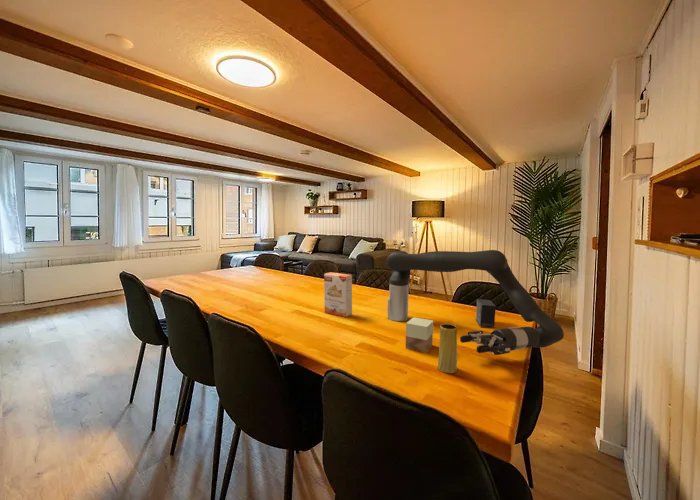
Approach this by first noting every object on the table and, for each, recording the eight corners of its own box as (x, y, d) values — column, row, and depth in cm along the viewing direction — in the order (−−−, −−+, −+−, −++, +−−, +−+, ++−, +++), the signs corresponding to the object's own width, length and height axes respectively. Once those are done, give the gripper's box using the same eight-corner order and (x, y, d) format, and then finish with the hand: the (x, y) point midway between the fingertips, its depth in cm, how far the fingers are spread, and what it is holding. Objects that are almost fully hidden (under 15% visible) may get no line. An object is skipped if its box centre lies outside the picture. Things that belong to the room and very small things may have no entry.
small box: (495, 328, 136) (496, 305, 135) (480, 327, 138) (480, 304, 137) (489, 320, 147) (490, 299, 146) (475, 320, 148) (476, 298, 147)
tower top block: (405, 336, 115) (406, 323, 114) (413, 329, 122) (413, 317, 121) (426, 340, 111) (427, 326, 110) (433, 333, 117) (433, 320, 117)
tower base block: (405, 348, 115) (405, 336, 115) (412, 341, 122) (412, 329, 122) (426, 353, 111) (426, 340, 111) (432, 345, 118) (432, 333, 118)
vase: (434, 365, 102) (435, 323, 101) (452, 364, 102) (453, 322, 101) (441, 374, 96) (442, 330, 94) (460, 373, 96) (462, 329, 95)
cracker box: (323, 313, 160) (323, 273, 158) (331, 310, 165) (330, 271, 163) (345, 317, 152) (345, 276, 150) (352, 314, 157) (352, 274, 155)
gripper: (494, 321, 111) (456, 326, 107) (527, 336, 98) (484, 341, 93) (493, 341, 112) (455, 346, 108) (525, 358, 98) (483, 365, 94)
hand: (468, 344), depth 101 cm, fingers open, 8 cm apart
